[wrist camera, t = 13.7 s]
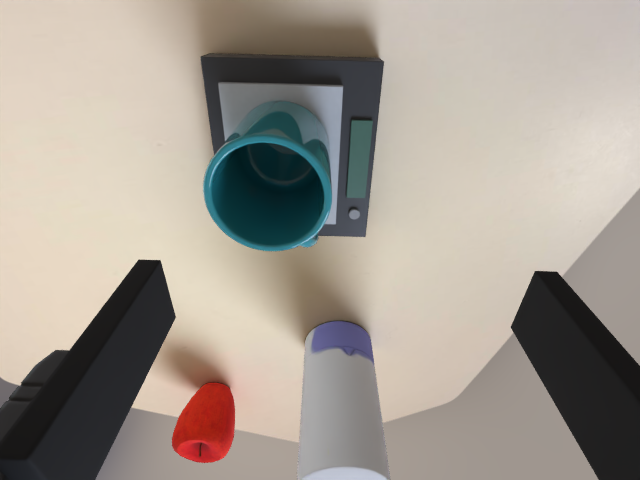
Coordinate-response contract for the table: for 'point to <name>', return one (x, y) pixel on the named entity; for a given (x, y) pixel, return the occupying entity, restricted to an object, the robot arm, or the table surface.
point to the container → (340, 407)
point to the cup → (272, 178)
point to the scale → (322, 100)
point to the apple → (206, 425)
